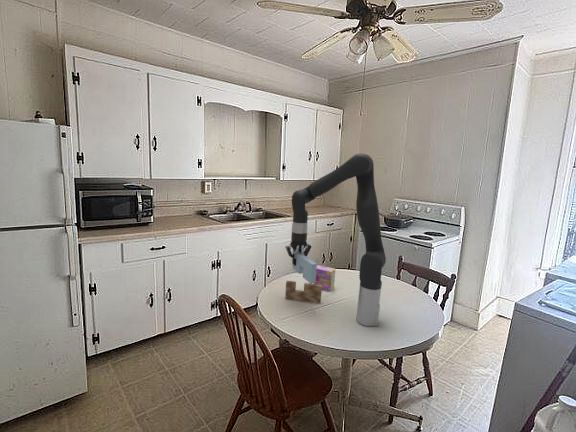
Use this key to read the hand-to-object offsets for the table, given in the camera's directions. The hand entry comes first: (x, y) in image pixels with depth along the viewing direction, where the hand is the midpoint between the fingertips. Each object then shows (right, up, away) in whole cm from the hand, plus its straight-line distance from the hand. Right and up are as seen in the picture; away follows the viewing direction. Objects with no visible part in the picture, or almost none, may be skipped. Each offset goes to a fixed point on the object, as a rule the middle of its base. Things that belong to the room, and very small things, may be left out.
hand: (297, 264), depth 154 cm
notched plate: (+3, -4, -6) cm, 7 cm away
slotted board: (+3, -19, +5) cm, 19 cm away
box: (+15, -16, +20) cm, 30 cm away
